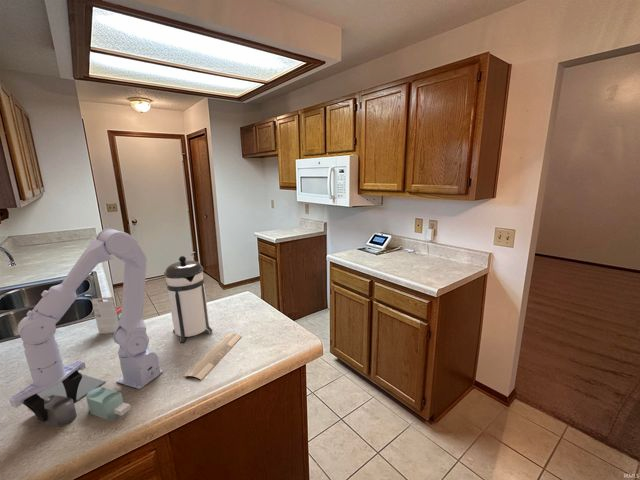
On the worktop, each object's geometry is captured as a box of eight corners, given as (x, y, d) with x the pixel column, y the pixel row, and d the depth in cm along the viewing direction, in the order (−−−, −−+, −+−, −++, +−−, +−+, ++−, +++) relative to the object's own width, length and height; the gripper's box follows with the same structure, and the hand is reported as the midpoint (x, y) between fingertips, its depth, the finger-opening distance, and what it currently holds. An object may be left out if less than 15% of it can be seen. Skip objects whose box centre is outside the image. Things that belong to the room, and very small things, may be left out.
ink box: (104, 329, 116) (96, 294, 112) (125, 328, 116) (119, 293, 113) (98, 334, 112) (90, 298, 109) (120, 333, 113) (113, 297, 110)
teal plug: (85, 411, 76) (82, 396, 75) (101, 400, 79) (98, 385, 78) (119, 424, 71) (115, 408, 70) (134, 411, 75) (131, 396, 74)
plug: (80, 414, 75) (77, 399, 74) (64, 427, 71) (59, 411, 70) (44, 406, 77) (40, 391, 76) (26, 418, 74) (22, 403, 73)
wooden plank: (227, 336, 109) (226, 332, 109) (244, 338, 108) (244, 334, 107) (183, 379, 87) (182, 374, 87) (204, 383, 85) (204, 377, 85)
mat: (105, 382, 86) (105, 381, 86) (66, 408, 77) (66, 406, 77) (74, 372, 91) (73, 371, 91) (33, 395, 82) (33, 394, 82)
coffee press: (222, 322, 118) (214, 250, 111) (199, 345, 103) (188, 263, 96) (183, 320, 121) (172, 249, 114) (155, 342, 106) (141, 261, 99)
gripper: (68, 343, 79) (79, 387, 82) (-5, 378, 66) (11, 429, 69) (86, 348, 77) (96, 393, 80) (13, 385, 63) (29, 437, 67)
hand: (58, 410), depth 74 cm, fingers open, 6 cm apart
